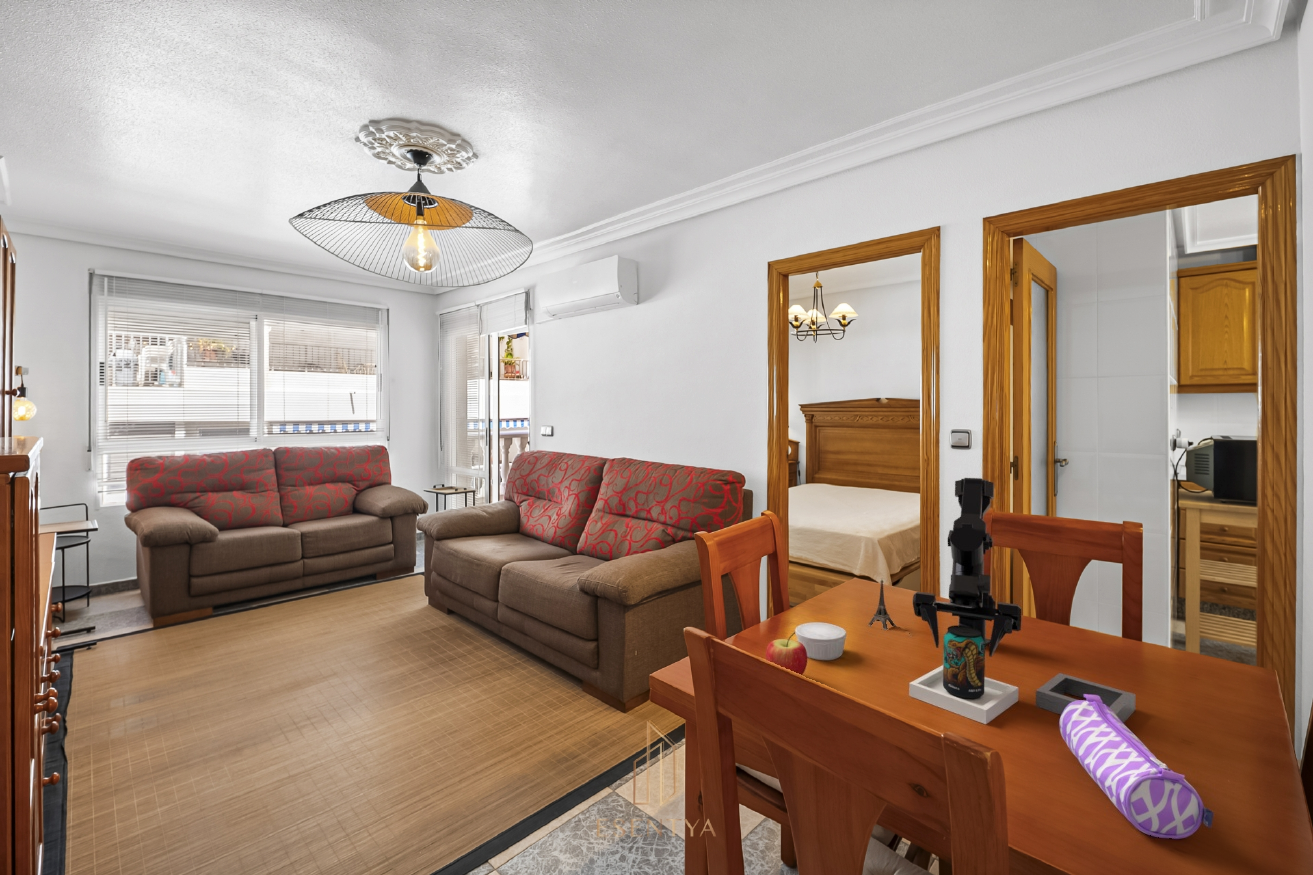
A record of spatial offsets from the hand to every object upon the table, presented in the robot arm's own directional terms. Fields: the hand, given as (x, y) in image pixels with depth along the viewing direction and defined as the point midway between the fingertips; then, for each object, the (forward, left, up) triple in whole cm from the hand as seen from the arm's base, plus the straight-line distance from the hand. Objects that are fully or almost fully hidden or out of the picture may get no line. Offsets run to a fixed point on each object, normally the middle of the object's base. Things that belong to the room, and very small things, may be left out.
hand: (963, 651), depth 114 cm
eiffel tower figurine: (-27, -32, -10) cm, 43 cm away
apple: (+18, -28, -10) cm, 34 cm away
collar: (-14, +15, -9) cm, 23 cm away
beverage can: (-1, -1, -9) cm, 9 cm away
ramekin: (+1, -32, -10) cm, 33 cm away
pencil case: (+11, +27, -10) cm, 31 cm away
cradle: (-1, -1, -9) cm, 10 cm away
